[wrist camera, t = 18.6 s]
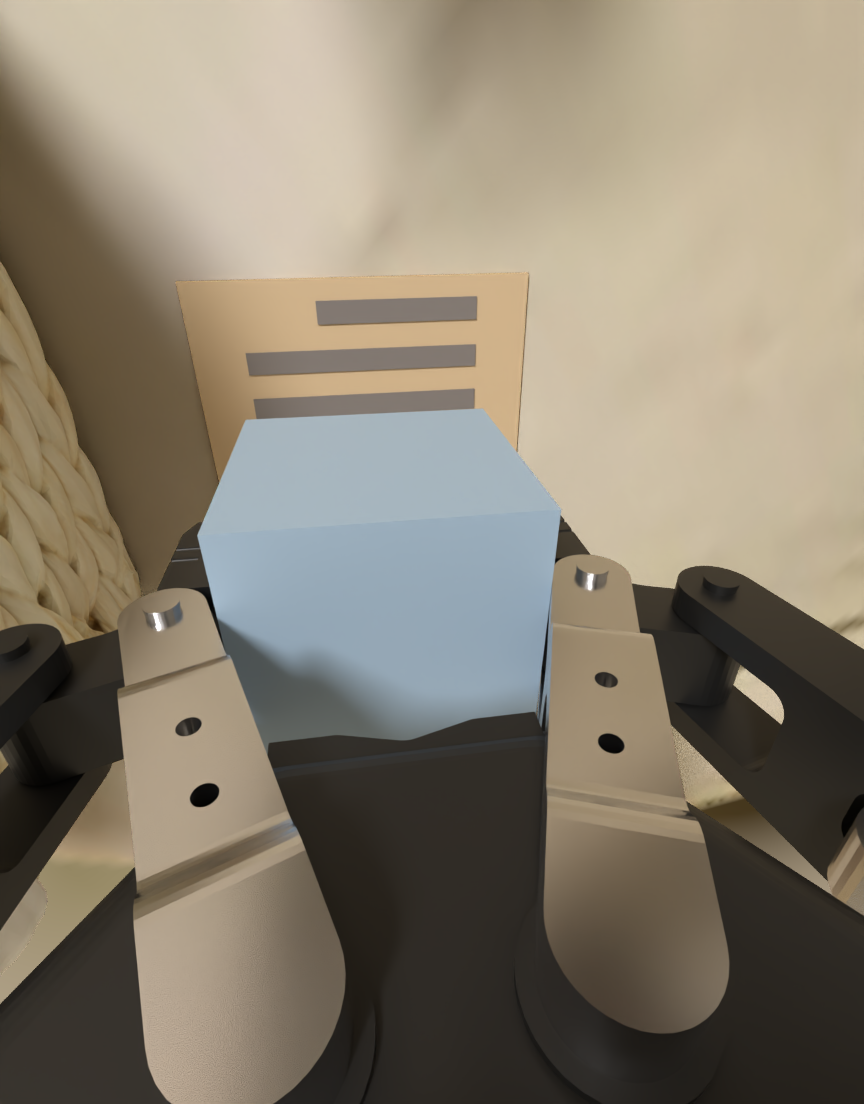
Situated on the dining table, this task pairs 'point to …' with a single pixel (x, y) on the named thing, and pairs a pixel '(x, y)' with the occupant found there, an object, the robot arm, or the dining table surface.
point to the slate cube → (380, 573)
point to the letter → (354, 348)
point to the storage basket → (49, 530)
